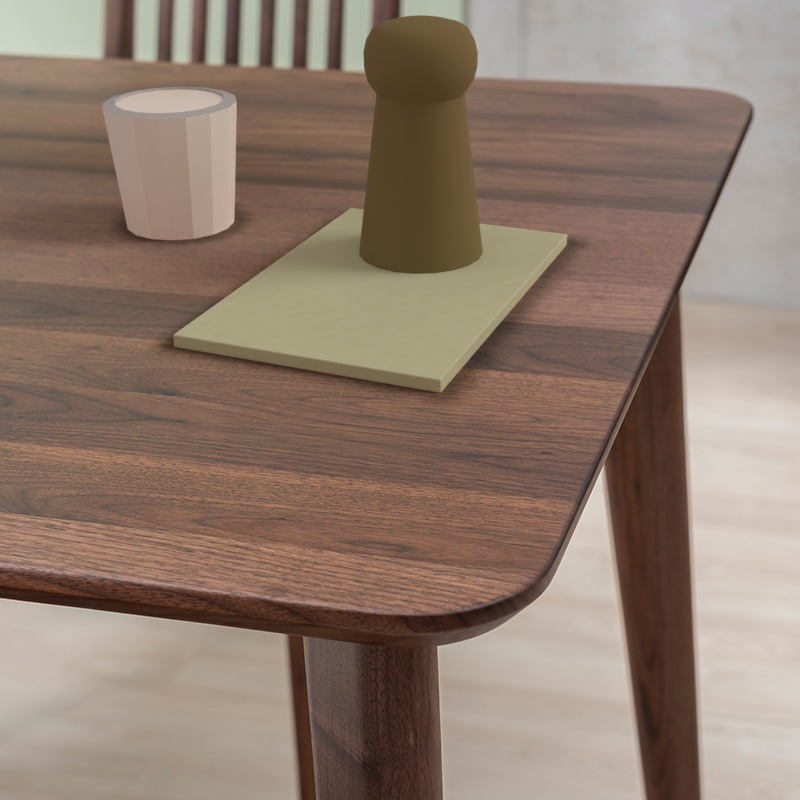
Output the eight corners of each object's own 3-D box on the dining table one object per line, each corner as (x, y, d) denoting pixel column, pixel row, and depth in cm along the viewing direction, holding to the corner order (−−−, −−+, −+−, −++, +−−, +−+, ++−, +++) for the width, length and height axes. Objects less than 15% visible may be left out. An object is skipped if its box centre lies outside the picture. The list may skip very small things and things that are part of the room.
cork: (500, 240, 62) (507, 11, 57) (454, 281, 58) (456, 35, 53) (391, 224, 65) (388, 3, 60) (337, 262, 60) (328, 25, 55)
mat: (351, 225, 68) (350, 207, 67) (566, 252, 64) (567, 233, 63) (174, 356, 53) (172, 334, 53) (440, 403, 49) (440, 379, 48)
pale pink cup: (130, 259, 63) (114, 122, 60) (105, 219, 69) (90, 91, 66) (261, 241, 66) (253, 107, 62) (227, 203, 71) (217, 79, 68)
